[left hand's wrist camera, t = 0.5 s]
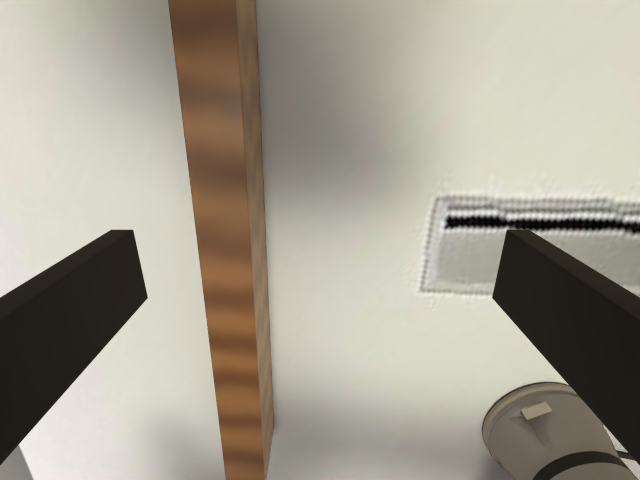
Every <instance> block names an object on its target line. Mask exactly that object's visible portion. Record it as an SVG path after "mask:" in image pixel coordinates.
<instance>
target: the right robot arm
mask: <svg viewBox="0 0 640 480" xmlns="http://www.w3.org/2000/svg"><path fill="white" fill-rule="evenodd" d="M483 438H484V441H485V443H486V445H487V447H488V449H489V451H490V453H491V455H492V457H493V458H494V459H495V460H496V461H497V463H498V464H499V465H500V466H501V467H503V468H504V469H505V470H506V471H507V472H508V473H509V474H510V475H511V477H512V478H513V479H514V480H638V479H637V477H636V476H635V475H634V474H633V473H632V472H631V471H630V469H629V468H628V467H627V466H626V465H625V464H624V462H623V461H622V460H621V459H620V458H626V459H631V460H635V459H634V458H633V457H632V456H631V455H630V454H627V453H621V452H616V450H615V447H614V445H613V443H612V441H611V439H610V437H609V435H608V434H607V432H606V430H605V429H604V427H603V423H602V422H601V421H600V419H599V418H598V417H597V416H596V415H595V414H594V413H593V412H592V410H591V409H590V408H589V407H588V406H587V405H586V404H585V402H584V401H583V400H582V399H581V398H580V397H579V396H578V395H577V393H576V392H575V391H574V390H573V389H572V388H571V387H570V386H567V385H563V384H557V383H543V384H535V385H531V386H527V387H524V388H521V389H519V390H516V391H514V392H512V393H510V394H509V395H507V396H505V397H504V398H503V399H501V400H500V401H499V402H498V403H497V404H495V406H494V407H493V408H492V409H491V410H490V412H489V413H488V415H487V417H486V419H485V421H484V424H483ZM635 461H636V460H635Z"/></svg>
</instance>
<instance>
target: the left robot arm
mask: <svg viewBox="0 0 640 480" xmlns="http://www.w3.org/2000/svg"><path fill="white" fill-rule="evenodd" d="M147 298H148V297H147V292H146V288H145V283H144V278H143V274H142V269H141V264H140V260H139V255H138V250H137V246H136V241H135V236H134V232H133V230H110V231H109V232H107V233H105V234H104V235H102V236H100V237H99V238H97V239H95V240H94V241H92V242H91V243H89V244H87V245H86V246H84V247H82V248H81V249H79V250H77V251H76V252H74V253H73V254H71V255H69V256H68V257H66V258H64V259H63V260H61V261H59V262H58V263H56V264H55V265H53V266H51V267H50V268H48V269H46V270H45V271H43V272H41V273H40V274H38V275H37V276H35V277H33V278H32V279H30V280H28V281H27V282H25V283H23V284H22V285H20V286H19V287H17V288H15V289H14V290H12V291H10V292H9V293H7V294H5V295H4V296H2V297H1V298H0V465H1V464H2V463H3V461H4V460H5V459H6V458H7V457H8V456H9V455H10V454H11V452H12V451H13V450H14V449H15V448H16V447H17V446H18V444H19V443H20V442H21V441H22V440H23V439H24V438H25V437H26V435H27V434H28V433H29V432H30V431H31V430H32V429H33V427H34V426H35V425H36V424H37V423H38V422H39V421H40V419H41V418H42V417H43V416H44V415H45V414H46V413H47V412H48V410H49V409H50V408H51V407H52V406H53V405H54V404H55V402H56V401H57V400H58V399H59V398H60V397H61V396H62V395H63V393H64V392H65V391H66V390H67V389H68V388H69V387H70V385H71V384H72V383H73V382H74V381H75V380H76V379H77V378H78V376H79V375H80V374H81V373H82V372H83V371H84V370H85V368H86V367H87V366H88V365H89V364H90V363H91V362H92V360H93V359H94V358H95V357H96V356H97V355H98V354H99V353H100V351H101V350H102V349H103V348H104V347H105V346H106V345H107V343H108V342H109V341H110V340H111V339H112V338H113V337H114V336H115V334H116V333H117V332H118V331H119V330H120V329H121V328H122V326H123V325H124V324H125V323H126V322H127V321H128V320H129V319H130V317H131V316H132V315H133V314H134V313H135V312H136V311H137V309H138V308H139V307H140V306H141V305H142V304H143V303H144V301H145V300H146V299H147ZM492 298H493V299H494V300H495V301H496V303H497V304H498V305H499V306H500V307H501V308H502V309H503V311H504V312H505V313H506V314H507V315H508V316H509V317H510V319H511V320H512V321H513V322H514V323H515V324H516V325H517V326H518V328H519V329H520V330H521V331H522V332H523V333H524V334H525V336H526V337H527V338H528V339H529V340H530V341H531V342H532V343H533V345H534V346H535V347H536V348H537V349H538V350H539V351H540V353H541V354H542V355H543V356H544V357H545V358H546V359H547V360H548V362H549V363H550V364H551V365H552V366H553V367H554V368H555V370H556V371H557V372H558V373H559V374H560V375H561V376H562V378H563V379H564V380H565V381H566V382H567V383H568V384H569V385H570V387H571V388H572V389H573V390H574V391H575V392H576V393H577V395H578V396H579V397H580V398H581V399H582V400H583V401H584V402H585V404H586V405H587V406H588V407H589V408H590V409H591V410H592V412H593V413H594V414H595V415H596V416H597V417H598V418H599V419H600V421H601V422H602V423H603V424H604V425H605V426H606V427H607V429H608V430H609V431H610V432H611V433H612V434H613V435H614V437H615V438H616V439H617V440H618V441H619V442H620V443H621V444H622V446H623V447H624V448H625V449H626V450H627V451H628V452H629V454H630V455H631V456H632V457H633V458H634V459H635V460H636V461H637V463H638V464H639V465H640V298H639V297H638V296H636V295H635V294H633V293H631V292H630V291H628V290H626V289H625V288H623V287H621V286H620V285H618V284H617V283H615V282H613V281H612V280H610V279H608V278H607V277H605V276H603V275H602V274H600V273H599V272H597V271H595V270H594V269H592V268H590V267H589V266H587V265H585V264H584V263H582V262H581V261H579V260H577V259H576V258H574V257H572V256H571V255H569V254H567V253H566V252H564V251H563V250H561V249H559V248H558V247H556V246H554V245H553V244H551V243H549V242H548V241H546V240H545V239H543V238H541V237H540V236H538V235H536V234H535V233H533V232H531V231H530V230H507V232H506V236H505V241H504V246H503V250H502V255H501V260H500V264H499V269H498V274H497V278H496V283H495V288H494V292H493V297H492Z"/></svg>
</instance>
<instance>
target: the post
mask: <svg viewBox="0 0 640 480" xmlns="http://www.w3.org/2000/svg"><path fill="white" fill-rule="evenodd" d="M168 2H169V11H170V19H171V27H172V36H173V44H174V52H175V61H176V69H177V77H178V85H179V94H180V102H181V110H182V119H183V127H184V135H185V143H186V152H187V160H188V168H189V177H190V185H191V193H192V202H193V210H194V218H195V226H196V235H197V243H198V251H199V260H200V268H201V276H202V285H203V293H204V301H205V309H206V318H207V326H208V334H209V343H210V351H211V359H212V368H213V376H214V384H215V392H216V401H217V409H218V417H219V426H220V434H221V442H222V451H223V459H224V467H225V475H226V480H266V478H267V471H268V464H269V457H270V450H271V443H272V436H273V429H274V418H273V395H272V372H271V348H270V325H269V302H268V279H267V256H266V232H265V209H264V186H263V163H262V139H261V116H260V93H259V70H258V47H257V23H256V0H168Z"/></svg>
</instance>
